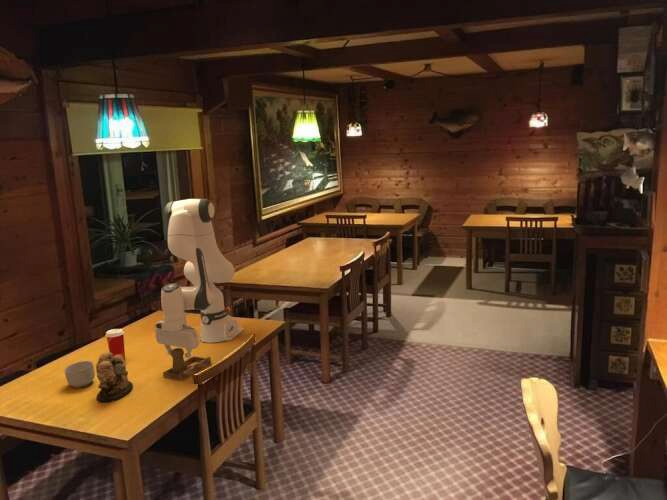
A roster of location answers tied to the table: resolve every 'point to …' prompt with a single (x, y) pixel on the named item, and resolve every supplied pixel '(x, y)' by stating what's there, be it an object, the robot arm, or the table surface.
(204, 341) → the robot arm
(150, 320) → the table surface
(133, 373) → the table surface
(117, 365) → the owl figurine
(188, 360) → the wooden divided frame
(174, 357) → the cork
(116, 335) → the paper cup
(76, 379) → the teacup
